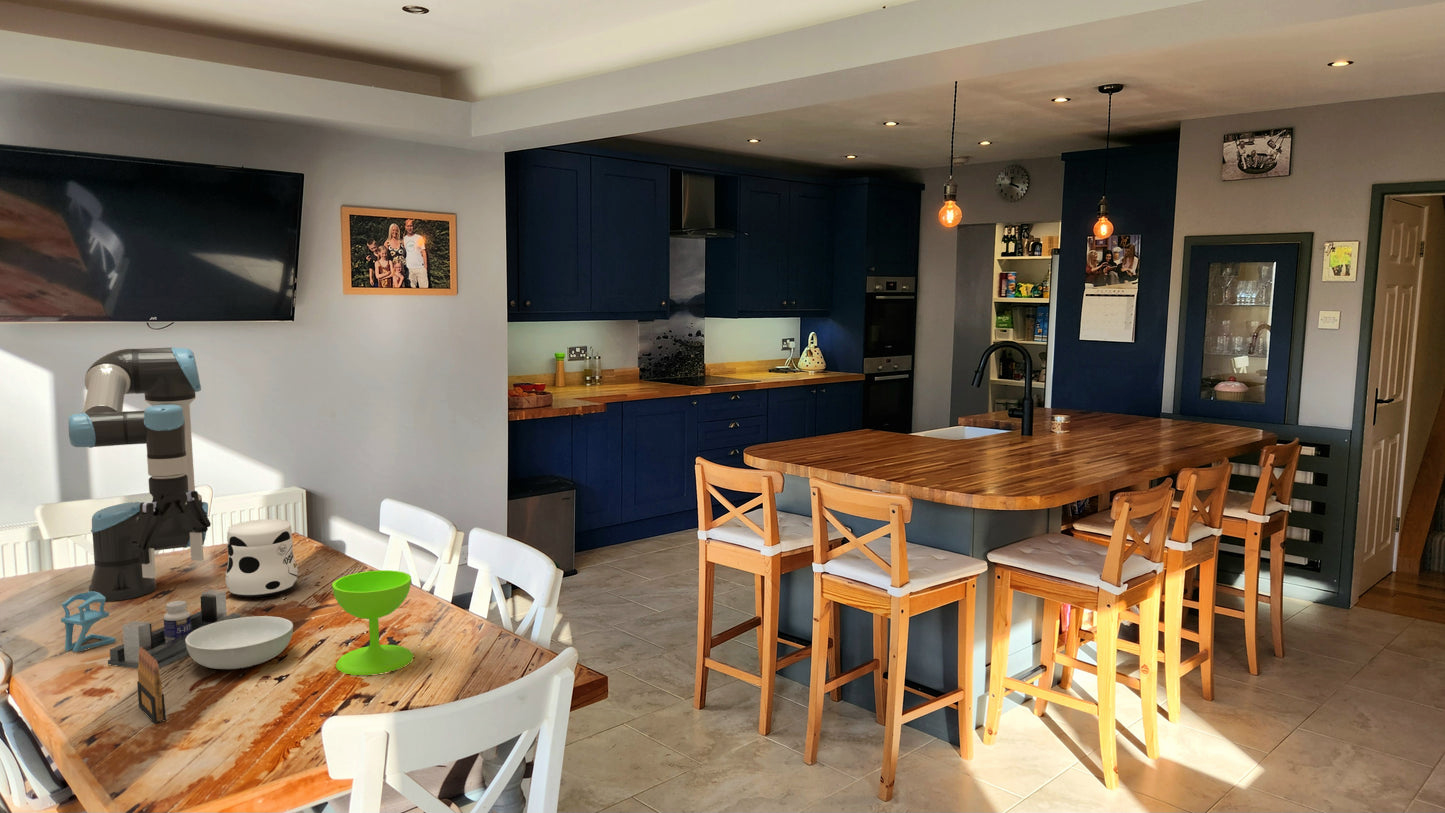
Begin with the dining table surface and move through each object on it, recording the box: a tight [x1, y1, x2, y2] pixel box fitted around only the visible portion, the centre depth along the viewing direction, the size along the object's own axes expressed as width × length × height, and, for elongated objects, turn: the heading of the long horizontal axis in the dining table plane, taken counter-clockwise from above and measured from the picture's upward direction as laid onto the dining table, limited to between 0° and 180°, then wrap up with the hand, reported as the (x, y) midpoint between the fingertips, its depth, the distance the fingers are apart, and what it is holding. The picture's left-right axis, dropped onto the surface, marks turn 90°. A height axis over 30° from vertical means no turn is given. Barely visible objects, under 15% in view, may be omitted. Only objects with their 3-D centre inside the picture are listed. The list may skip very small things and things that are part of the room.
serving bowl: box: [185, 615, 294, 670], centre depth 206 cm, size 21×21×7 cm
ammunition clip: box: [136, 647, 167, 724], centre depth 180 cm, size 11×2×12 cm, turn 45°
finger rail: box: [107, 589, 241, 669], centre depth 215 cm, size 26×12×9 cm, turn 166°
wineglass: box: [331, 569, 414, 675], centre depth 206 cm, size 16×16×18 cm
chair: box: [60, 591, 117, 653], centre depth 214 cm, size 8×8×12 cm
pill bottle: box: [163, 600, 191, 643], centre depth 215 cm, size 5×5×9 cm
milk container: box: [224, 518, 299, 598], centre depth 253 cm, size 17×17×18 cm
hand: (174, 568), depth 213 cm, fingers open, 13 cm apart
